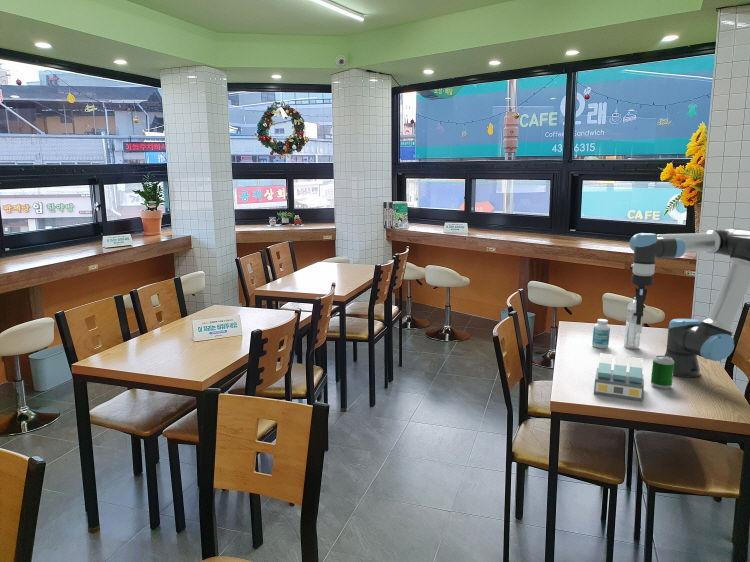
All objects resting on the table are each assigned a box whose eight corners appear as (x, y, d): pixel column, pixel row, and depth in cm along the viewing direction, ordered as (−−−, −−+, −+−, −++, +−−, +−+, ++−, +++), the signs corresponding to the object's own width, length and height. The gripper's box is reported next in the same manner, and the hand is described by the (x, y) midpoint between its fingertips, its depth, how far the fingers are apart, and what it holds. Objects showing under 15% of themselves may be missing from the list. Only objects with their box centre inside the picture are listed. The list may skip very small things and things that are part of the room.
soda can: (670, 391, 223) (673, 361, 221) (649, 387, 227) (652, 358, 224) (672, 385, 229) (675, 356, 227) (651, 381, 233) (654, 353, 231)
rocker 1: (611, 359, 227) (612, 354, 226) (609, 378, 218) (610, 373, 217) (600, 357, 229) (600, 353, 228) (597, 377, 220) (597, 372, 218)
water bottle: (640, 346, 280) (644, 297, 275) (637, 350, 274) (642, 299, 270) (625, 344, 284) (629, 295, 279) (622, 348, 278) (627, 298, 273)
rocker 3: (642, 363, 223) (642, 358, 222) (641, 383, 213) (642, 378, 212) (629, 361, 225) (630, 356, 223) (628, 381, 215) (629, 376, 214)
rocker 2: (626, 361, 225) (627, 356, 224) (625, 380, 216) (626, 376, 214) (614, 359, 227) (615, 355, 226) (613, 379, 217) (613, 374, 216)
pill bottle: (591, 347, 278) (593, 320, 276) (592, 343, 285) (594, 317, 282) (608, 349, 275) (610, 322, 273) (608, 345, 282) (610, 319, 280)
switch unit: (641, 388, 225) (643, 369, 224) (642, 401, 212) (644, 381, 211) (595, 382, 232) (597, 363, 231) (593, 394, 219) (595, 374, 218)
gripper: (632, 268, 229) (627, 319, 233) (631, 278, 207) (626, 335, 211) (653, 270, 226) (648, 321, 230) (654, 280, 204) (648, 337, 208)
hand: (637, 328), depth 220 cm, fingers open, 13 cm apart
